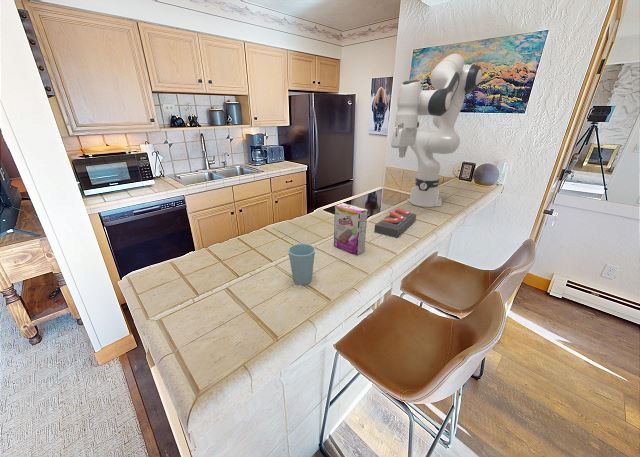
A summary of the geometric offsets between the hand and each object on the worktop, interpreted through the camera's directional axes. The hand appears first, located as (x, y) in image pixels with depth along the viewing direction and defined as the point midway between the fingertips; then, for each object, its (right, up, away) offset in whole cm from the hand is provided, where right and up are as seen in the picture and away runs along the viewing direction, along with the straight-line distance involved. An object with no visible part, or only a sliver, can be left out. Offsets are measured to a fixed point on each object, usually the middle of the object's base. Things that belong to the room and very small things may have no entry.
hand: (402, 157), depth 117 cm
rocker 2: (-2, -26, 0) cm, 26 cm away
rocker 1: (-6, -28, -5) cm, 29 cm away
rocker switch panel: (-1, -30, +4) cm, 30 cm away
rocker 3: (+2, -24, +6) cm, 25 cm away
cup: (-41, -47, -37) cm, 73 cm away
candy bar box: (-26, -39, -18) cm, 50 cm away
